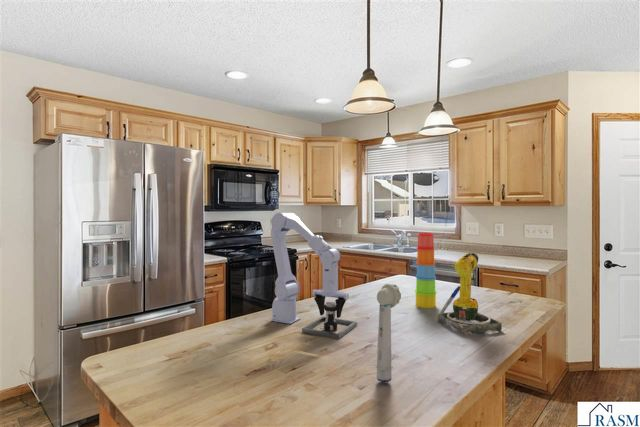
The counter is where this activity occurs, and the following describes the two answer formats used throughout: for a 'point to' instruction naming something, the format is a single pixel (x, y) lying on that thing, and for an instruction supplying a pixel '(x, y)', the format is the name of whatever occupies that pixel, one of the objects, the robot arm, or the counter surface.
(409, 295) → the counter surface
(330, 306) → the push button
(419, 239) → the stacking cups
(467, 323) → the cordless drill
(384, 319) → the toothbrush head
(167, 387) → the counter surface
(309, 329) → the frame
